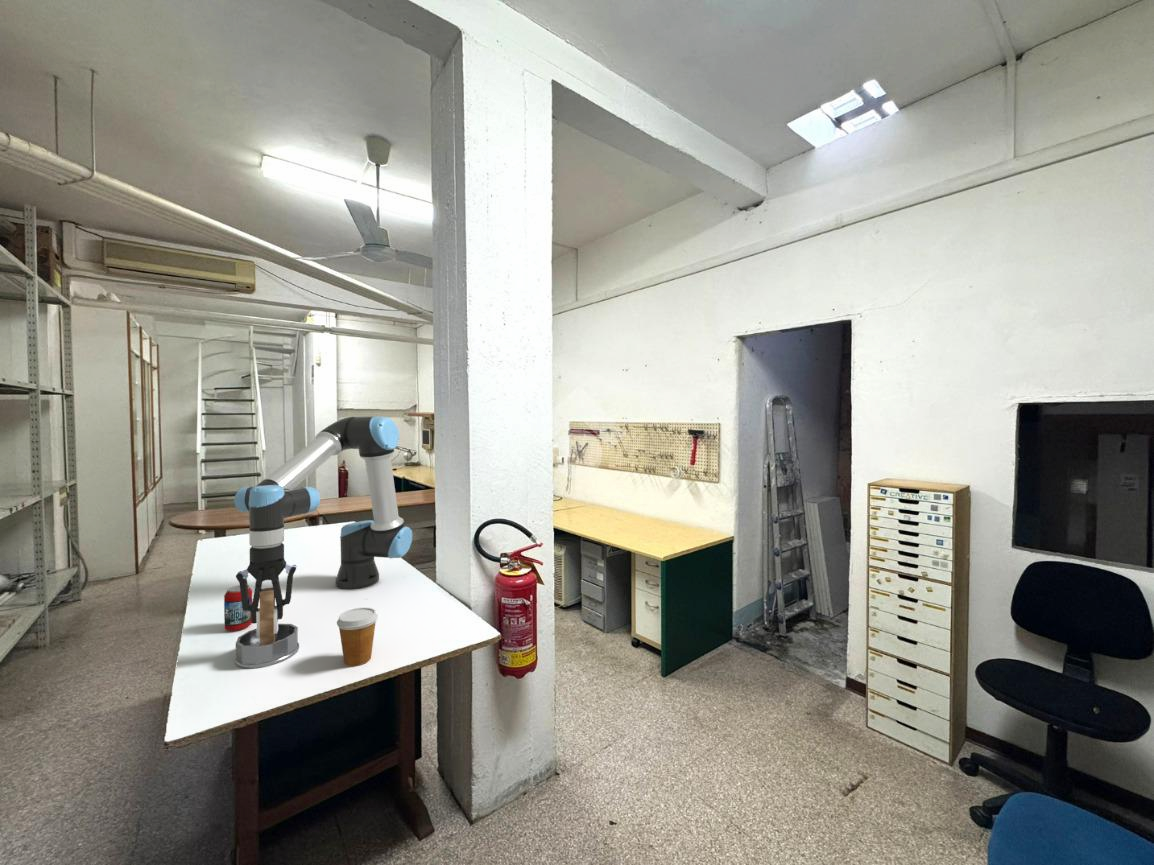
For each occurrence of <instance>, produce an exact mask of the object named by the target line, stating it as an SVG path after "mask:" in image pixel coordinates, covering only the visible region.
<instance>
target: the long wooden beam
mask: <svg viewBox="0 0 1154 865" xmlns="http://www.w3.org/2000/svg"><path fill="white" fill-rule="evenodd" d="M275 606H276V600H275V595H274V590H273V586H272V587H265V588H261V591H260V599H259V608H260V645H264V644H270V643H274V641H275V634H274V607H275Z"/></svg>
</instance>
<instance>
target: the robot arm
mask: <svg viewBox="0 0 1154 865" xmlns="http://www.w3.org/2000/svg"><path fill="white" fill-rule="evenodd" d="M399 440H400V432H399V428H398V425H397V424H396V422H395V421H393V420H392V418H389V417H386V416H377V415H376V416H349V417H344V418H341V419H339V420H336V421H335V422H333V423H331V424H329V425H328V426H326V427H325V428H324V429H322V430H321V431H319V432H318V433H317V434H316V435H315V436H314V440H313V441H312V442H310V443H309V444H307V445H306V446H305V447H304V448H303V449H301V450H300V451H298V453H296V454H295V455H294V456H293V457H291V458H290V459H288V460H287V461H286V462H285V463H284V464H282V465H281V466H280V467H278V468H277V469H276V470H274V471H273V472H272V473H271V474H269V475H268V476H267V477H266V478H264V479H263V480H262V481H260V482H258V484H256V485H255V486H252V485H251V486H250V485H249V486H246V487H245V486H244V487H242V488H240V489H239V490H238V491H237V492H236V494H235V495H234V498H233V499H234V500H233V501H234V506H235V507H236V509H237V510H238V511H239V512H242V513H246V514H247V513H248V515H249V519H248V520H249V522H248V523H249V532H248V534H249V539H248V540H249V546H251V547H249V564H248V566H247V568H246V569H243V570H241V571H238V572H237V573H236V575H235V578H236V580H237V581H238V583H239V585H240V592H241V600H242V608H243V610H244V611H246V610H248V611H251V622H252V624H251V625H253V624H256V628H257V637H259V636H260V591H261V589H262V586H263V582H264V581H271V584H272V587H273V590H274V595H275V607H274V634H276V633H277V632H278V624H279V620H282V619H283V616H284V606H286V605H289V604H290V603H291V600H292V594H293V591H292V590H293V581H294V575H295V572H296V571H297V567H298V566H297V565H296V564H293V565H292V564H288V563H287V561H286V560H285V544H284V543H283V542H284V541H285V519H286V518H292V517H295V516H300V515H307V514H309V513H312V512H314V511H316V510H317V509H318V508H319V506H320V503H321V495H320V492H319V491H318V490H317V489H316V488H314V487H313V486H301V487H298V485H300V484H301V483H302V482H303V481H304V480H305V479H306V478H308V477H309V476H310V475H311V474H312V473H314V471H316V470H317V469H318V468H319V467H321V465H323V464H324V463H325V462H326V461H328V460H329V459H330V458H331V457H332V456H338V455H339V454H340V453H341V452H343V451H345V450H346V451H347V450H351V449H352V450H358V453H359V457H360V458H361V459H363V460H364V463H365V469H366V475H367V484H368V489H369V496H370V501H371V502H370V503H371V509H372V515H373V520H371V519H370V520H361V521H355V522H351V523H348V524H345V525H343V526H342V527H341V529H340V536H339V538H340V540H339V541H340V565H339V569H338V572H337V575H336V578H335V587H337V588H339V589H345V590H347V589H348V590H350V589H351V590H353V589H354V590H355V589H361V588H365V587H369V586H373V585H375V584H376V583H378V582H379V580H380V572H379V570H378V567H377V564H376V561H375V558H389V559H400V558H403V557H404V556H405V555H406V554H407V552H408V551H409V550H410V548H411V545H412V542H413V531H412V528H410V527H408V526H405V520H404V518H402V517H400V516H399V508H398V502H397V495H396V488H395V480H394V472H393V465H392V464H393V463H392V458H391V457H392V455H394V453H395V448H397V447H398V446H399V443H400V442H399ZM297 487H298V488H297ZM284 570H285V573H286V574H287V576H286V577H287V578H286V588H285V598H284V599H283V594H282V589H281V584H280V578H279V576H280V575H281V573H282V572H283V571H284ZM249 574H250V575H251V576H252V577H253V578H254V579H255V583H254V584H255V586H254V591H253V595H252V604H250V601H249V593H248V585H249V584H248V577H249Z"/></svg>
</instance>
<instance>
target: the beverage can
mask: <svg viewBox="0 0 1154 865" xmlns="http://www.w3.org/2000/svg"><path fill="white" fill-rule="evenodd" d="M248 593H249V601H250V604H252V602H253V590H252V588H251V586H250V585H249V584H248ZM223 596H224V597H223V600H224V601H223V608H224V610H223V612H224V614H223V615H224V617H223V618H224V619H223V620H224V629H225V630H227V631H229V632H238V631H242V630H245V629H247V628H248V627H250V626H251V625H253V624H252V622H251V611H248V610H246V611H244V610H243V608H242V600H241V592H240V584H239V585H233V586H231V587H229V588H226V592H225V594H224V595H223Z"/></svg>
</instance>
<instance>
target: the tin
mask: <svg viewBox="0 0 1154 865" xmlns="http://www.w3.org/2000/svg"><path fill="white" fill-rule="evenodd" d="M298 636H299V627H298V626H296V625H294V624H292V623H278V632H277V633H276V634H275V641H274V643H270V644H264V645H260V636H259V637H257V627H256V628H254V629H251V630H248V631H246V632H245V633H243V634H241V635H240V636H238V637H237V640H236V642H235V656H234V657H235V658H234V664H235V666H236V667H238V668H239V669H240V668H241V669H245V670H249V669H250V670H252V669H260V668H266V667H270V666H271V667H272V666H273V665H277V664H279V663H282V662H284V661H286V660H288V659H291V658H292V657H294V655H296V654H297V653H298V652H299V649H300V643H299V642H298V641H299V637H298Z"/></svg>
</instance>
